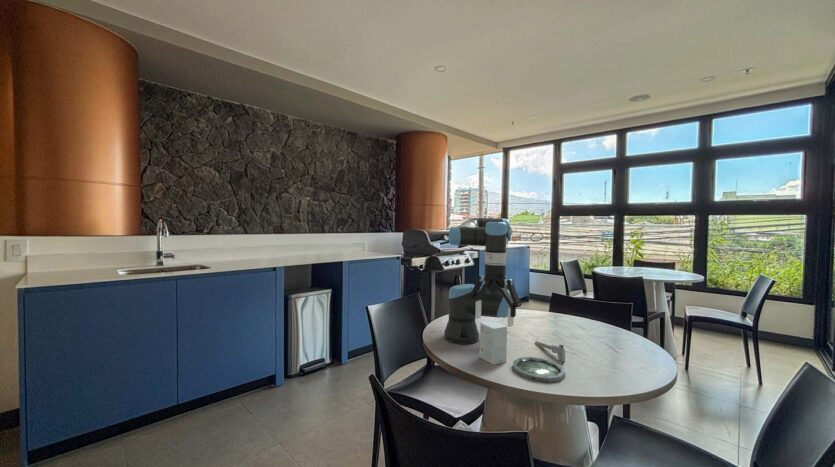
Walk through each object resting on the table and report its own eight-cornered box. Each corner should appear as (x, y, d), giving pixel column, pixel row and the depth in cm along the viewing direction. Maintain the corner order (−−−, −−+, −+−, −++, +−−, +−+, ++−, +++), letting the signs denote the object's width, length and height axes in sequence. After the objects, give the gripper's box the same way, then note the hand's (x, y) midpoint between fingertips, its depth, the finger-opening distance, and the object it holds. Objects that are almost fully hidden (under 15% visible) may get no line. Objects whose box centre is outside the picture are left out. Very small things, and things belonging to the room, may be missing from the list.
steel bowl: (504, 370, 114) (504, 366, 114) (526, 357, 125) (527, 353, 125) (551, 387, 102) (552, 382, 102) (572, 371, 114) (572, 367, 114)
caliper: (565, 363, 122) (565, 346, 121) (562, 363, 121) (562, 346, 121) (536, 343, 142) (537, 328, 142) (534, 343, 142) (534, 328, 141)
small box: (506, 362, 121) (507, 326, 120) (492, 365, 118) (493, 328, 118) (492, 354, 128) (493, 320, 128) (478, 356, 125) (479, 322, 125)
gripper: (461, 261, 128) (460, 316, 128) (521, 268, 111) (520, 331, 111) (473, 260, 133) (471, 313, 134) (532, 266, 116) (530, 327, 116)
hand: (493, 321), depth 122 cm, fingers open, 13 cm apart
